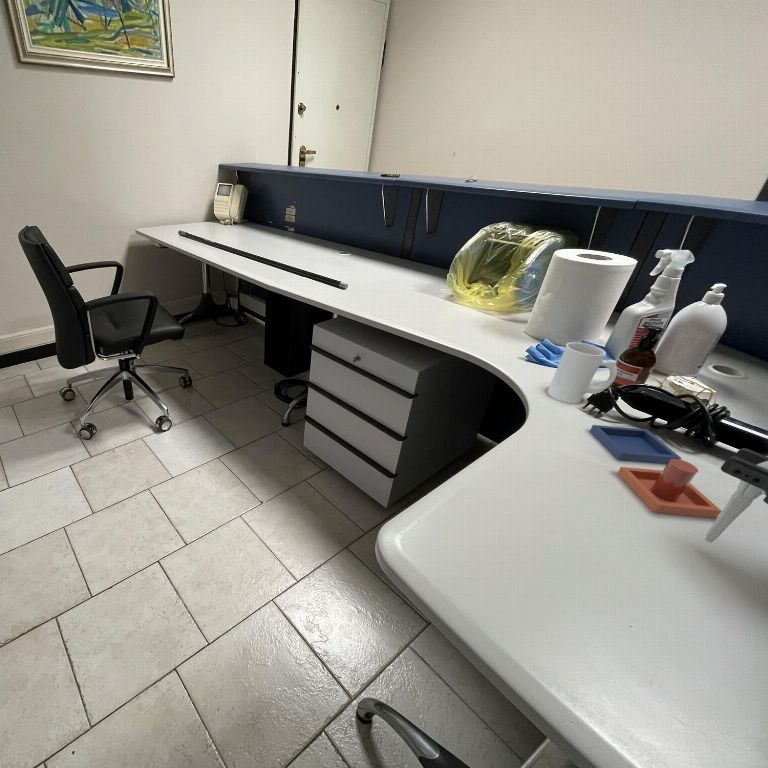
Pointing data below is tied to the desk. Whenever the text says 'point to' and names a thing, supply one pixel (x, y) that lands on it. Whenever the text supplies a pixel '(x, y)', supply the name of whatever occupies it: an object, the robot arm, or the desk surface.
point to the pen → (735, 507)
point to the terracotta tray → (686, 504)
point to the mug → (579, 372)
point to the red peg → (673, 480)
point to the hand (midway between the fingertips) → (731, 458)
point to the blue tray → (633, 444)
